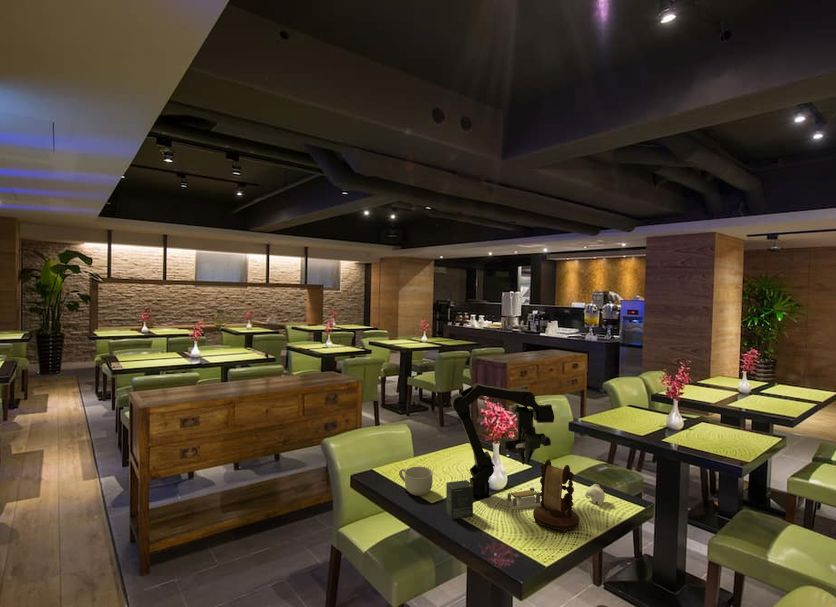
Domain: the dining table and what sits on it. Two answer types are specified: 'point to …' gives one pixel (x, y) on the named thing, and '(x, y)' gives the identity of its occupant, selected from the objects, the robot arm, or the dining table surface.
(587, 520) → the dining table surface
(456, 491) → the box
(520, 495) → the strap
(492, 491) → the dining table surface
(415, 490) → the teacup
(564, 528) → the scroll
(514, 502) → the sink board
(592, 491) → the elephant figurine
